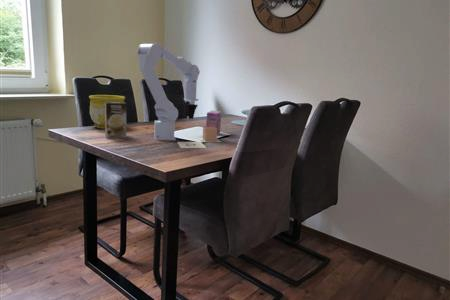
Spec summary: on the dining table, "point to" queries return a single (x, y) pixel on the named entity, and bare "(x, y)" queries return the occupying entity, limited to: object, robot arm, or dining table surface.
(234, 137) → the dining table surface
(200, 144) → the plate
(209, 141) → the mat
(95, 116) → the flowerpot
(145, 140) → the dining table surface
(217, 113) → the box
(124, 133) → the coffee box
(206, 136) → the block
